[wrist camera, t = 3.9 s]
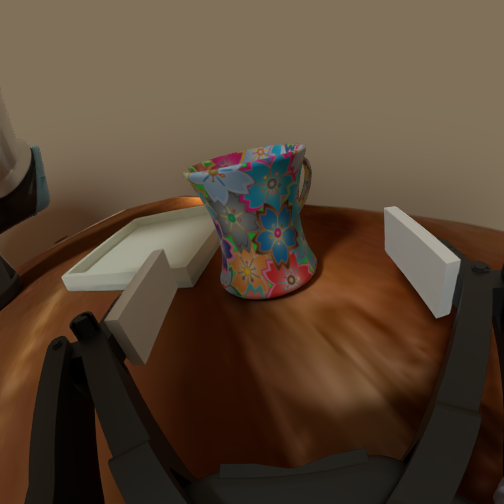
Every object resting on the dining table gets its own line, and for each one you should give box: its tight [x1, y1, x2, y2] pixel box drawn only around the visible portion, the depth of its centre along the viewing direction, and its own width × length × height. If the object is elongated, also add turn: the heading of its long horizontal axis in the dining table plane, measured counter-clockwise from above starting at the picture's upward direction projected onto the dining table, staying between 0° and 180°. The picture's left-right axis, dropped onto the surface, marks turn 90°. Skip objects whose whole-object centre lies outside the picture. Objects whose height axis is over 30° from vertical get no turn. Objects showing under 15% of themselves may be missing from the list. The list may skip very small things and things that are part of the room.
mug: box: [183, 144, 317, 299], centre depth 23 cm, size 12×9×11 cm
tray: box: [61, 205, 220, 291], centre depth 36 cm, size 20×20×2 cm
